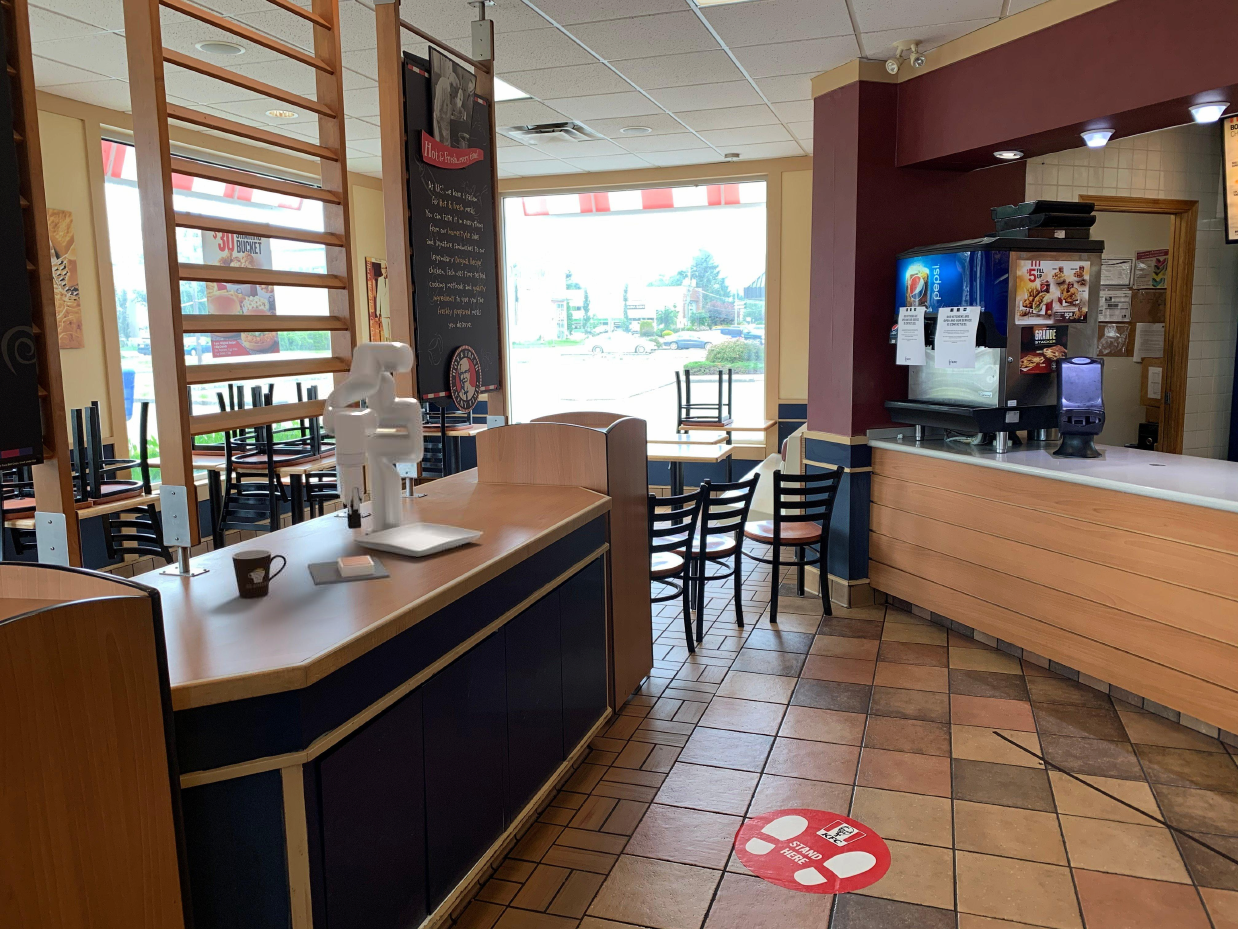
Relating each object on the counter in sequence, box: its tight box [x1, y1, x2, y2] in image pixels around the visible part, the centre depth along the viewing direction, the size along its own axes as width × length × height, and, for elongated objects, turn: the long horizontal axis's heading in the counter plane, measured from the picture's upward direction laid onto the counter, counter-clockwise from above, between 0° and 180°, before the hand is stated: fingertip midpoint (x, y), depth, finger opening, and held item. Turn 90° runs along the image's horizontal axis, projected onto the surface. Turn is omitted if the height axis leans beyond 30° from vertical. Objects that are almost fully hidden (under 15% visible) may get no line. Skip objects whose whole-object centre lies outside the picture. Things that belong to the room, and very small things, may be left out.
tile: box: [337, 555, 375, 577], centre depth 230 cm, size 3×8×10 cm
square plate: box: [353, 522, 484, 558], centre depth 260 cm, size 27×27×4 cm
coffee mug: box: [231, 549, 287, 600], centre depth 210 cm, size 12×9×10 cm
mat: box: [307, 556, 390, 586], centre depth 231 cm, size 20×18×1 cm
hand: (354, 527), depth 231 cm, fingers closed
